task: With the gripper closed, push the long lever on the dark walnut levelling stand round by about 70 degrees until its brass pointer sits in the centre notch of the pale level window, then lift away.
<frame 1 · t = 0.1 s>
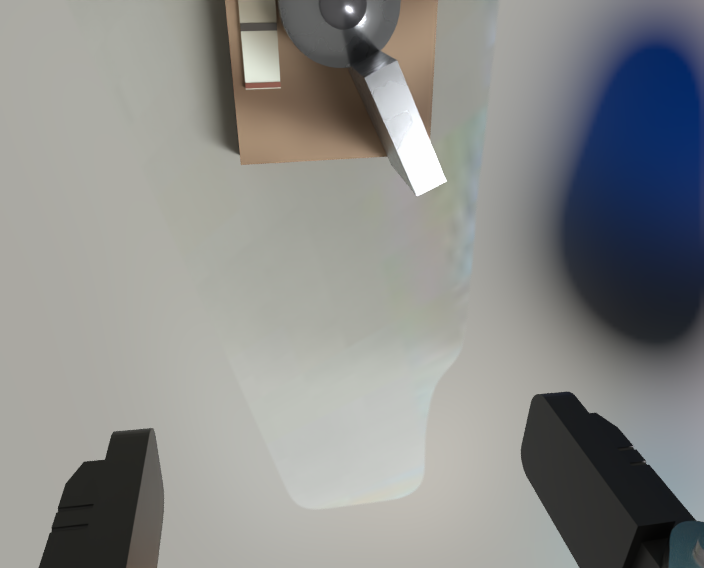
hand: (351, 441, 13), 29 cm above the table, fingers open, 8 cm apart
lever: (362, 47, 31), point 5 cm above the table, hinge at -65.0°
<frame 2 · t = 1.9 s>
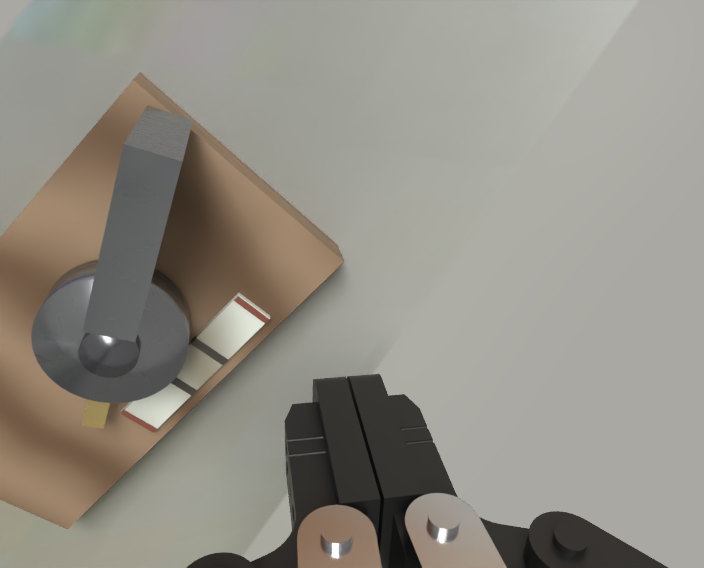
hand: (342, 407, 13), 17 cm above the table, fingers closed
stand: (102, 322, 30), on the table
lever: (118, 312, 24), point 5 cm above the table, hinge at -65.0°
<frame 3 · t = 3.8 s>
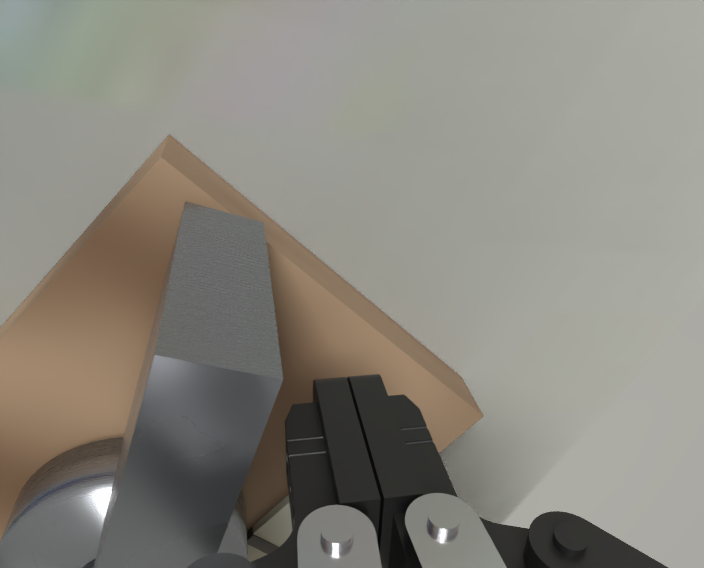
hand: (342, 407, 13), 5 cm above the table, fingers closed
stand: (107, 497, 20), on the table
lever: (136, 558, 14), point 5 cm above the table, hinge at -64.9°, touching gripper
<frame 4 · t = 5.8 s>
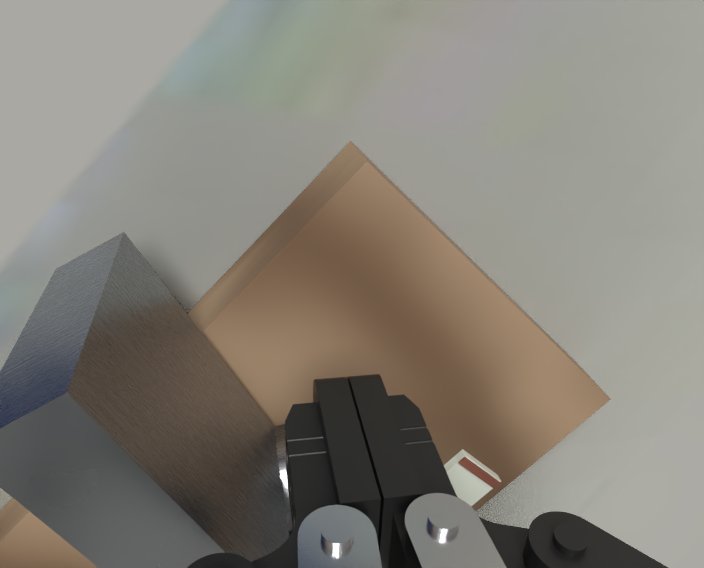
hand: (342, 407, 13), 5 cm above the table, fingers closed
stand: (250, 485, 21), on the table
lever: (268, 543, 15), point 5 cm above the table, hinge at -18.6°, touching gripper
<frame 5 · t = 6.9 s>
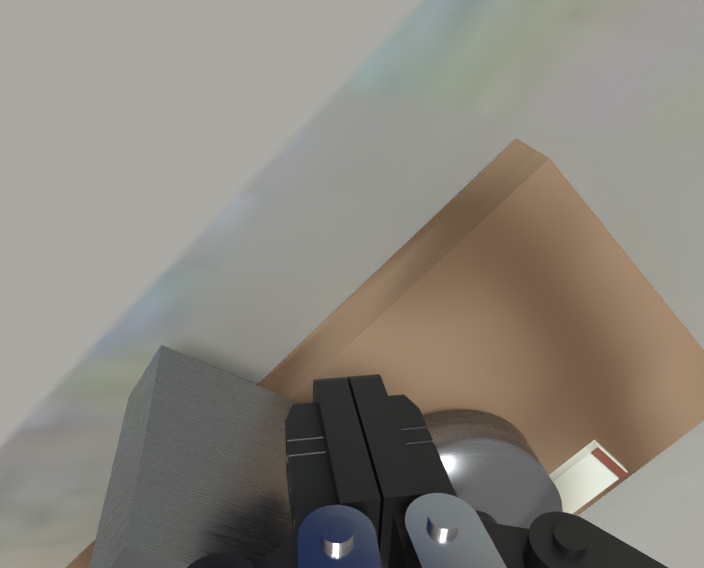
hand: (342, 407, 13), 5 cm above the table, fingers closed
stand: (378, 471, 22), on the table
lever: (409, 549, 16), point 5 cm above the table, hinge at 11.0°, touching gripper
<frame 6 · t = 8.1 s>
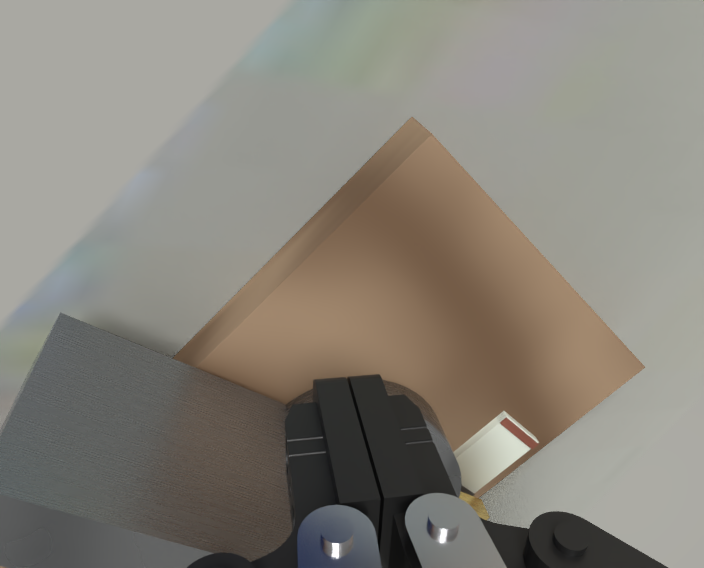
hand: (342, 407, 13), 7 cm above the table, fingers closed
stand: (301, 441, 22), on the table
lever: (302, 508, 16), point 5 cm above the table, hinge at 11.2°
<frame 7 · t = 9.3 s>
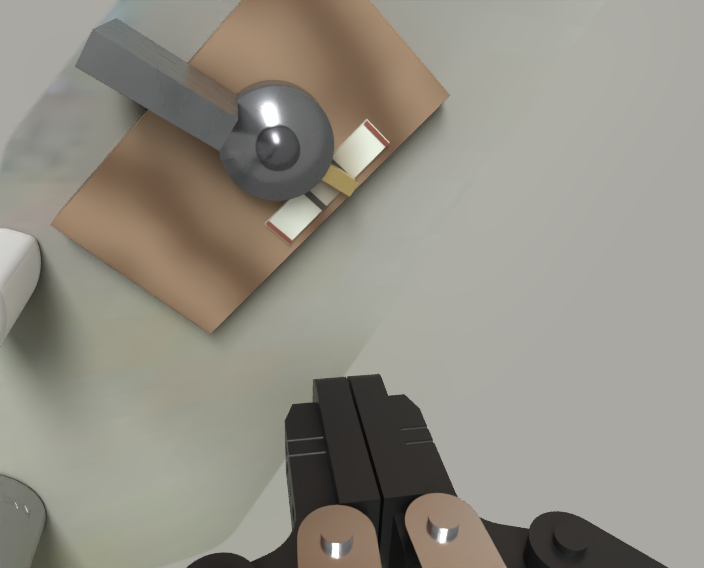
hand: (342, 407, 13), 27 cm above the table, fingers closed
stand: (250, 150, 37), on the table
eye dropper bottle: (12, 265, 38), on the table
lever: (241, 128, 31), point 5 cm above the table, hinge at 11.2°
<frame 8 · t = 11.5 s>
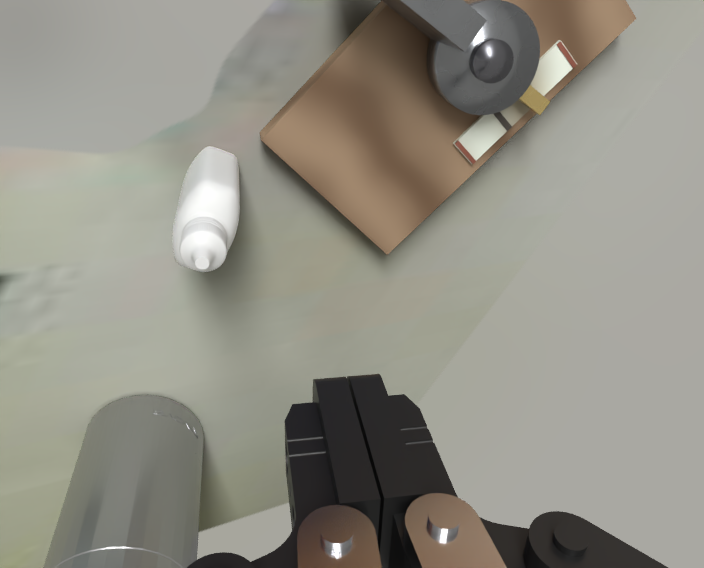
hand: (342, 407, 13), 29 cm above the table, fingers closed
stand: (440, 73, 39), on the table
eye dropper bottle: (209, 185, 40), on the table
lever: (466, 38, 33), point 5 cm above the table, hinge at 11.2°
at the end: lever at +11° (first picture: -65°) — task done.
